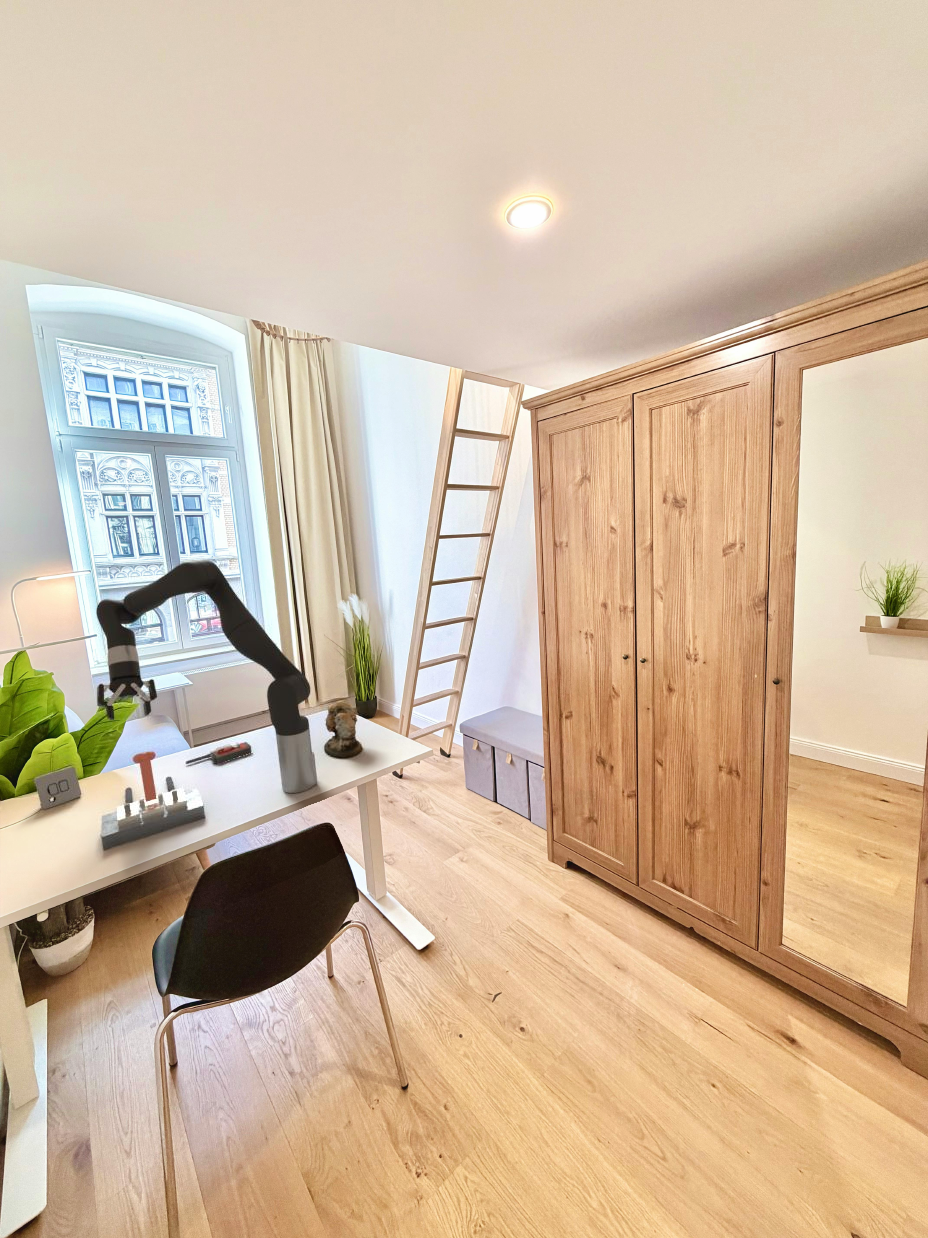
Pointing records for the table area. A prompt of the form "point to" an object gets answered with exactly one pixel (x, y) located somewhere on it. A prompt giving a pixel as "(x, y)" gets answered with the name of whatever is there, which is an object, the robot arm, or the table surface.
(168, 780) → the grey upright pegs
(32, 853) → the table surface
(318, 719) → the table surface
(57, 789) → the electrical switch
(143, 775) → the breaker lever
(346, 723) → the brown figurine
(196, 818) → the breaker panel
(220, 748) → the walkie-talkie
